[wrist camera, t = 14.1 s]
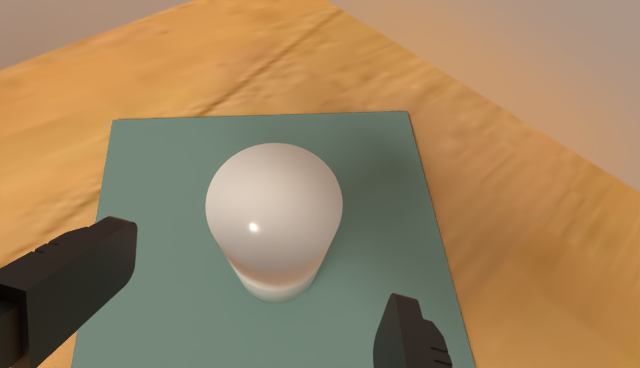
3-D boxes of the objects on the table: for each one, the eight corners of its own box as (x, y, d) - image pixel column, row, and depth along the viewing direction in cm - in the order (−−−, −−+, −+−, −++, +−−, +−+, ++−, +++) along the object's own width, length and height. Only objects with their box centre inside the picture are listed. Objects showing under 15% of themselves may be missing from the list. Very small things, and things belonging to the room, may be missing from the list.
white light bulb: (313, 221, 21) (333, 139, 13) (322, 298, 19) (352, 261, 11) (236, 226, 20) (206, 145, 12) (238, 308, 18) (203, 276, 10)
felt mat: (405, 113, 25) (407, 110, 25) (492, 443, 17) (496, 445, 17) (114, 122, 23) (112, 119, 22) (48, 522, 14) (44, 525, 14)
